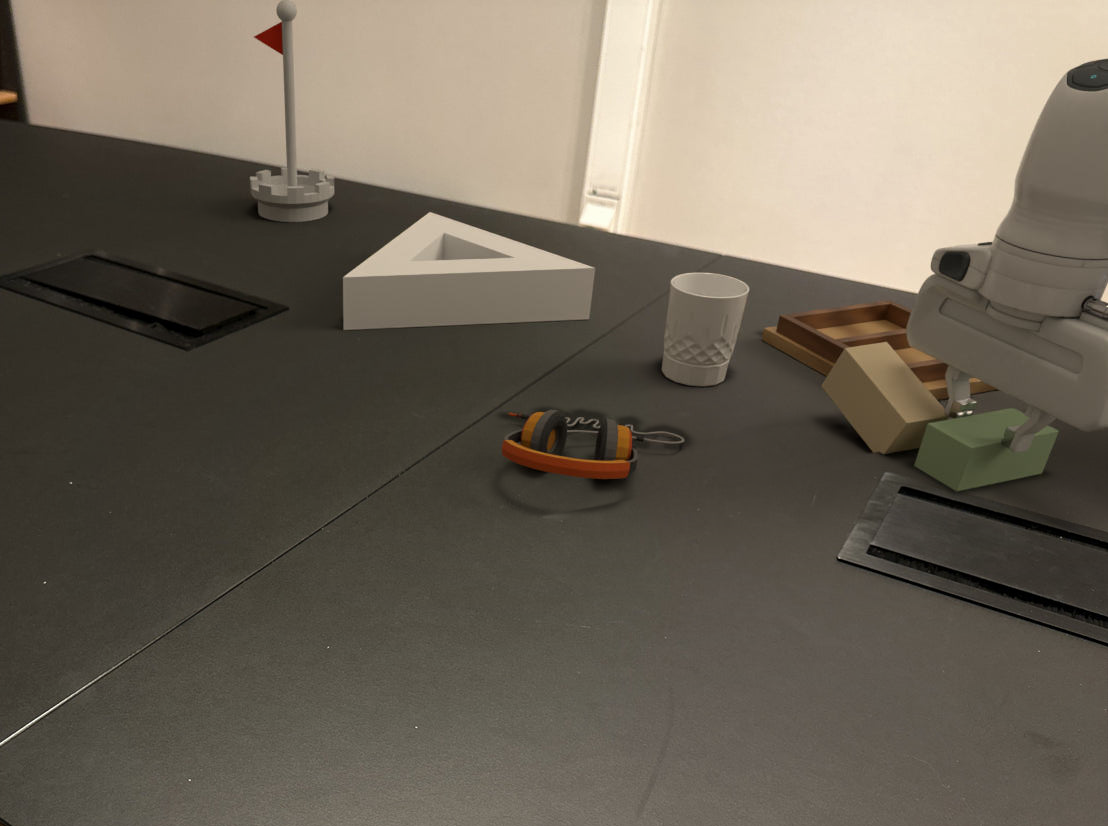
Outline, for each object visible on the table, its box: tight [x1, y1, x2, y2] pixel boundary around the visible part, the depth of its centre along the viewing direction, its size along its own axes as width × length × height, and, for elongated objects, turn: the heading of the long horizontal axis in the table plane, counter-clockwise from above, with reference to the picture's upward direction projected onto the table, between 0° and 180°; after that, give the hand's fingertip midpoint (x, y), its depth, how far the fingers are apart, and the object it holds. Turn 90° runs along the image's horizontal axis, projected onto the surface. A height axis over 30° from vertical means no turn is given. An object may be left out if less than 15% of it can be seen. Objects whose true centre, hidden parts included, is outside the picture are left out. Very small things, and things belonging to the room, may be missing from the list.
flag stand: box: [249, 0, 335, 223], centre depth 157 cm, size 13×13×30 cm
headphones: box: [501, 409, 685, 481], centre depth 95 cm, size 17×5×20 cm
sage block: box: [913, 407, 1059, 492], centre depth 94 cm, size 10×5×5 cm, turn 110°
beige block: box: [820, 342, 950, 455], centre depth 99 cm, size 10×5×5 cm, turn 20°
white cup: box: [661, 272, 750, 387], centre depth 111 cm, size 8×8×10 cm
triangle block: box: [342, 211, 596, 331], centre depth 129 cm, size 30×26×6 cm
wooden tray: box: [761, 299, 998, 401], centre depth 116 cm, size 17×20×4 cm
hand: (983, 432), depth 92 cm, fingers closed on sage block, 5 cm apart
